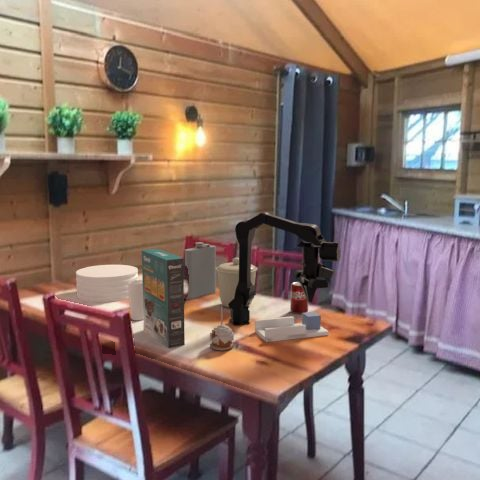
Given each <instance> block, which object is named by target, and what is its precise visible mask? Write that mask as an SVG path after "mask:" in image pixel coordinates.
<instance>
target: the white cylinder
mask: <svg viewBox="0 0 480 480" xmlns="http://www.w3.org/2000/svg"><path fill="white" fill-rule="evenodd" d="M128 292H129V299H128V300H129V308H130V317H131V320H133V321H135V322H136V321H137V322H139V321H144V318H143V279H141V280H139V279H138V280H134V281H130V282H129V283H128Z"/></svg>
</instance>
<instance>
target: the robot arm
mask: <svg viewBox="0 0 480 480" xmlns="http://www.w3.org/2000/svg"><path fill="white" fill-rule="evenodd" d="M264 225H266V226H270V227H272V228H275V229H279V230H282V231H285V232H287V233H291V234H293V235H294V236H296V237H297V238H299V239H301V241H300V242H299V243H298V244H297V245H296V247H297V248H302V261H300V266H302V269H297V270H296V269H295V271H294V272H293V274H292V275H293V276H292V277H293V279H295V280H298V278H300V281H298V282H299V283H300V285H301V287H302V289H303V291H304V293H305V296H306V298H307V300H308V303H312V302H313V300H314V298H315V294H316V292H317V290H318V289H325V288H326V289H327V288H329V286H330V282H329V280H332V278H333V276H334V272H335V271H334V270H332V269H330V268H327V265H326V264H324V263H321V262H319V258H320V259H321V260H322V261H324V262H340V259H341V247H340V242H339V241H333V242H332V241H331V242H330V241H326V239H325V238H324V236H323V235H322V234H321V229H320V227H319V226H318V225H317V224H314V223H305V222H297V221H294V220H290V219H288V218H284V217H280V216H278V215H274V214H272V213H269V212H267V211H264V212H260V213H258V214H257V215H256V216H253V217H252V218H250V219H245V220H242V221H239V222H238V223H237V224H235V227H234V229H235V230H234V231H235V237H236V240H237V243H238V258H239V281H238V284H237V287H236V290H235V296H234V299H233V300H232V301H231V302H230V303H229V304H228V305H229V309H230V318H229V322H230V323H231V324H232V325H234V326H240V325H250V324H251V322H250V317H251V316H250V315H251V313H250V312H251V311H250V310H249V306H250V305H249V303H250V301H252V302H253V299H255V296H256V295H257V294H256V284H254V285H252V283H251V264H252V243H253V240H254V239H255V234H256V230H257V229H258V228H260V227H262V226H264ZM327 278H328V279H329V280H327ZM247 305H249V306H247Z"/></svg>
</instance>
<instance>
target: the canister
mask: <svg viewBox="0 0 480 480" xmlns="http://www.w3.org/2000/svg"><path fill="white" fill-rule="evenodd" d="M231 261H232V262H224V263H221V264H219V265H218V266H216V268H215V269H216V275H217V277H216V278H217V283H218V291H219V293H218V294H219V299H220V304H223V307H226V308H229V305H228V304H229V303H230V302H231V301H232V300H233V299H234V296H235V290H236V287H237V284H238V281H239V257H233V258H232V260H231ZM257 271H258V267H257V266H255V265H253V264H252V263H251V283H252V285H256V284H255V283H256V277H257V276H256V274H257ZM252 302H253V300H252V301H250V303H249V305H247V306H248V307H249V306H250V305H251V304H252ZM229 309H230V308H229Z"/></svg>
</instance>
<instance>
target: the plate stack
mask: <svg viewBox="0 0 480 480" xmlns="http://www.w3.org/2000/svg"><path fill="white" fill-rule="evenodd" d="M138 272H139V269H138V267H136V266H133V265H127V264H100V265H92V266H86V267H84V268H79V269H78V270H76V271H75V276H76V277H75V282H76V298H77V299H79V300H81V301H84V302H91V303H110V302H120V301H125V300H129V292H128V283H129V282H130V281H134V280H139V273H138Z"/></svg>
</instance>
